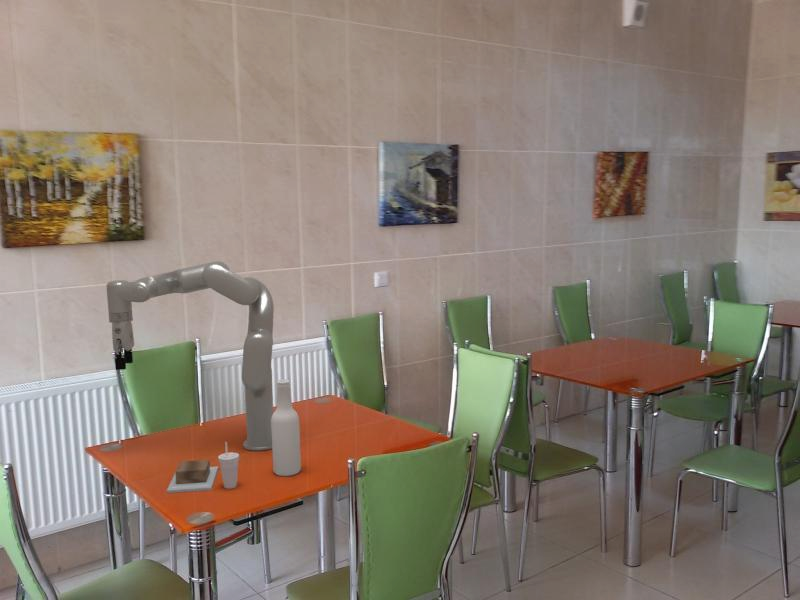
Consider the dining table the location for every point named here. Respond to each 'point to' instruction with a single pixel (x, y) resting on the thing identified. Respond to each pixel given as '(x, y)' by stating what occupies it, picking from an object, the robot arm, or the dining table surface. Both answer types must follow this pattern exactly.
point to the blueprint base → (209, 482)
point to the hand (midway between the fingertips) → (124, 366)
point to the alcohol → (285, 433)
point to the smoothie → (229, 468)
